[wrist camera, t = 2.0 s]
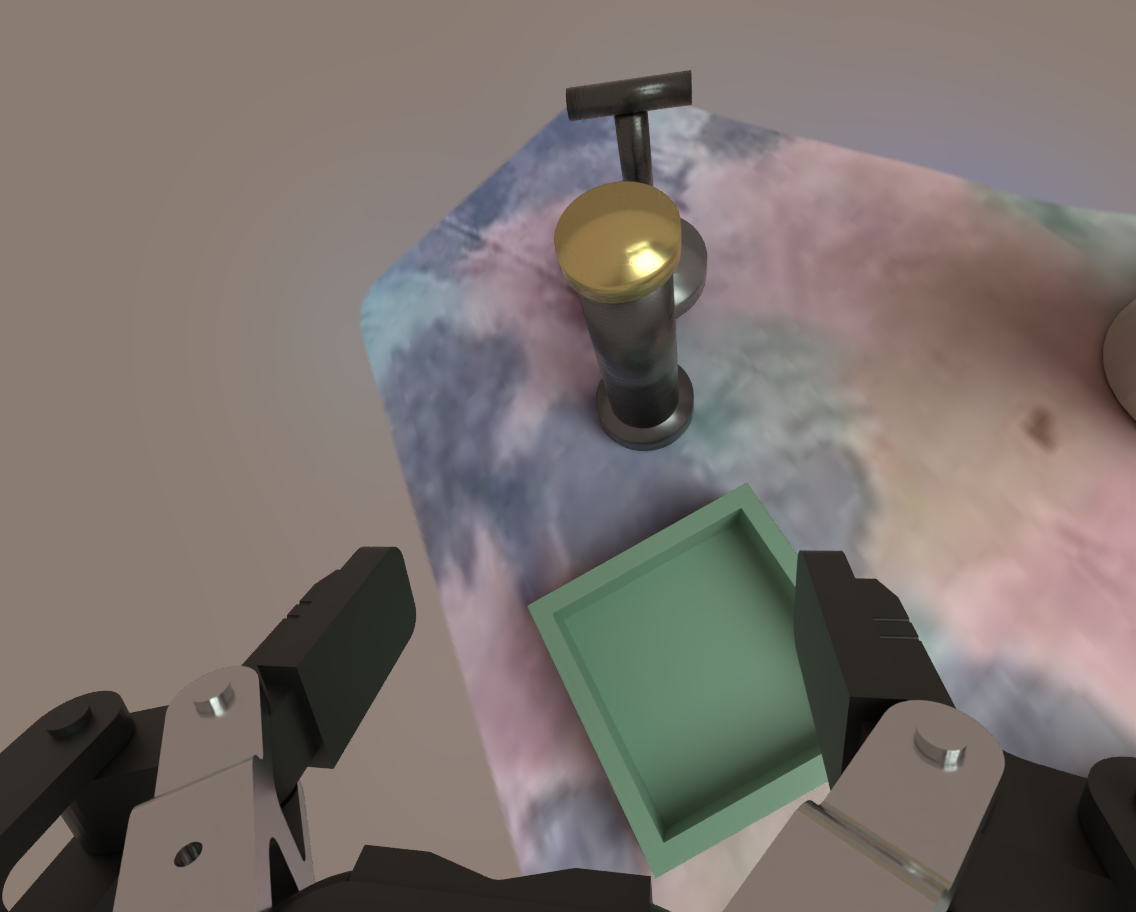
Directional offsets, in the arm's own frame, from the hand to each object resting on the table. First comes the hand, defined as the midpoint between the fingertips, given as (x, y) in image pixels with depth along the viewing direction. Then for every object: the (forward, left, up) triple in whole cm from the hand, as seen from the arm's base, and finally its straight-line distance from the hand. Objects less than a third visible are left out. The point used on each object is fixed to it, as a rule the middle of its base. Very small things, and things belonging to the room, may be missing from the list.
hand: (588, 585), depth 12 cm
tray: (-2, +2, -16) cm, 16 cm away
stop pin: (-6, -10, -16) cm, 20 cm away
